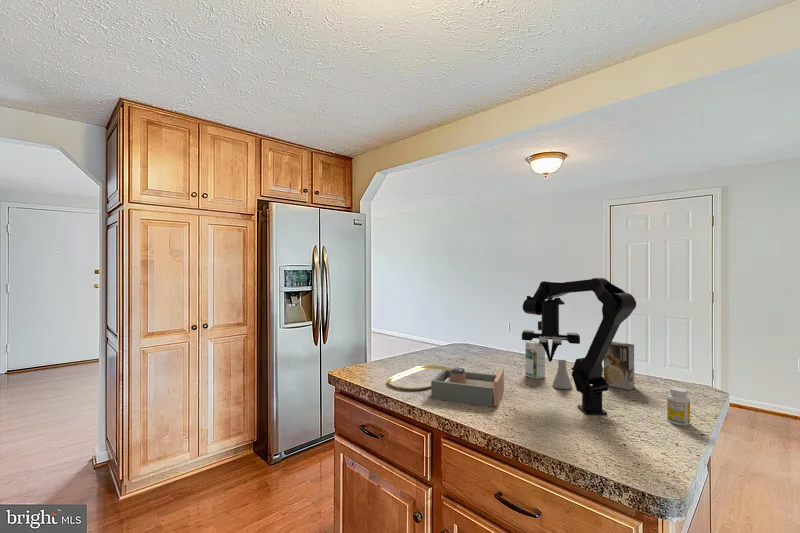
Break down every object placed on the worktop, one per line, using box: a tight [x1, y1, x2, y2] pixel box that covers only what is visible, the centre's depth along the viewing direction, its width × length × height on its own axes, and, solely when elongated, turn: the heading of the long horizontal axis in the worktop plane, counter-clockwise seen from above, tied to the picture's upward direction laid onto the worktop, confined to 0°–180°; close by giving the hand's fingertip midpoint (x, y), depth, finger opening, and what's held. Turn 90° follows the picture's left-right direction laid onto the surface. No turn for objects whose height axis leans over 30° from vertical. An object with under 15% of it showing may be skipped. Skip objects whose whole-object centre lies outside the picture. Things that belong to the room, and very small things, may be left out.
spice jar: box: [451, 367, 466, 384], centre depth 135 cm, size 5×5×7 cm
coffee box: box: [603, 341, 636, 391], centre depth 145 cm, size 9×6×16 cm
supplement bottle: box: [666, 386, 691, 427], centre depth 111 cm, size 5×5×10 cm
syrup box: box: [524, 339, 546, 380], centre depth 157 cm, size 6×6×14 cm
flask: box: [551, 359, 573, 390], centre depth 143 cm, size 7×7×10 cm
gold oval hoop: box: [387, 364, 453, 392], centre depth 154 cm, size 19×35×2 cm, turn 145°
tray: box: [445, 368, 505, 407], centre depth 134 cm, size 20×16×8 cm
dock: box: [430, 369, 497, 408], centre depth 134 cm, size 21×16×6 cm
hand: (550, 361), depth 134 cm, fingers closed
